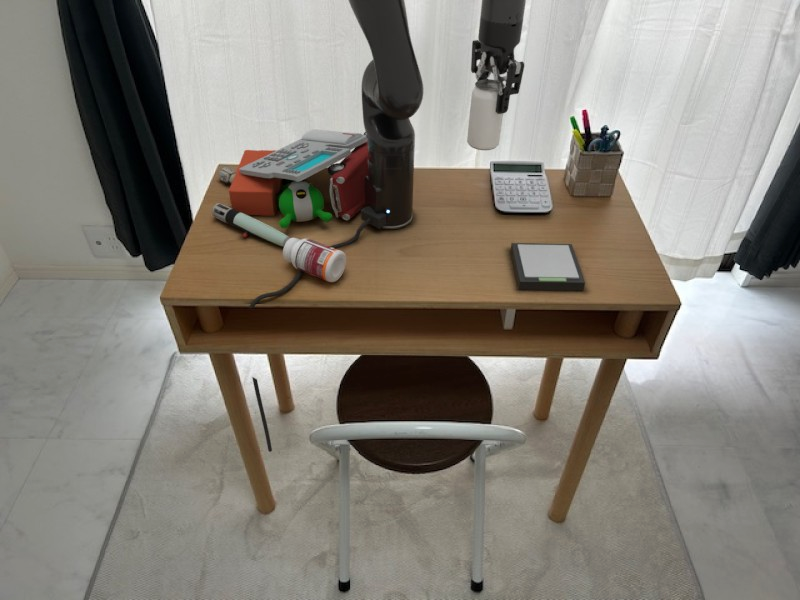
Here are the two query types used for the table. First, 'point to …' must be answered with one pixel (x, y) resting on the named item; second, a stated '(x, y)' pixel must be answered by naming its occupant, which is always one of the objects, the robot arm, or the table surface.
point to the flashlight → (249, 225)
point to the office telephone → (305, 155)
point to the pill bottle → (315, 258)
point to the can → (484, 116)
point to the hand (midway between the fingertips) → (491, 105)
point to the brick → (254, 188)
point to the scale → (546, 267)
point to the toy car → (349, 182)
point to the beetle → (227, 175)
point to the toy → (301, 203)
